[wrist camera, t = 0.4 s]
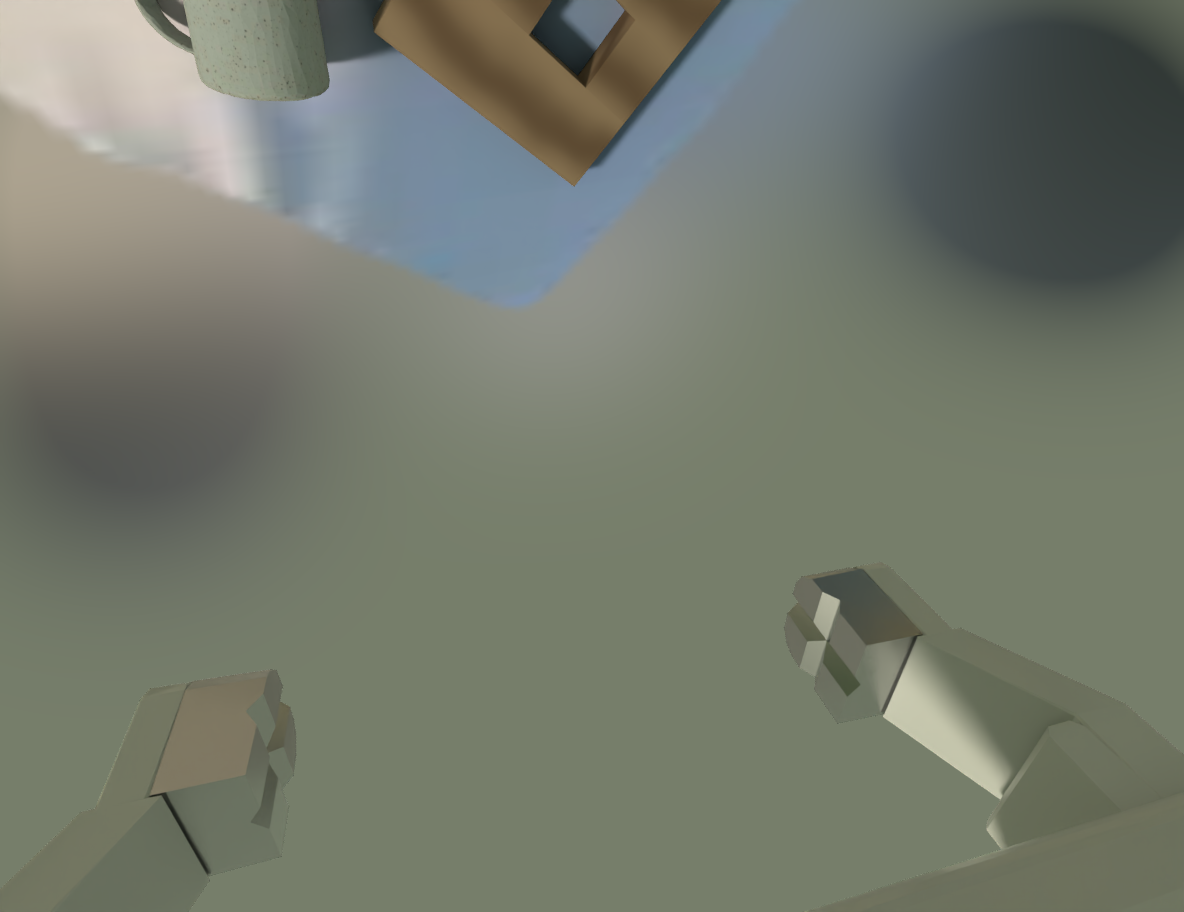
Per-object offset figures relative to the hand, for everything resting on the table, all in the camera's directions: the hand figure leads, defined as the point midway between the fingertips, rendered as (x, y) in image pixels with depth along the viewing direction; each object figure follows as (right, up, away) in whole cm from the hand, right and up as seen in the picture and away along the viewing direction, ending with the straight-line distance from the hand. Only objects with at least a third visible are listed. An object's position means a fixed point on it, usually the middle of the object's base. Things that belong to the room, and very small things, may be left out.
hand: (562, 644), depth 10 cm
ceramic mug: (-22, +33, +30) cm, 50 cm away
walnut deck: (-2, +36, +35) cm, 50 cm away
